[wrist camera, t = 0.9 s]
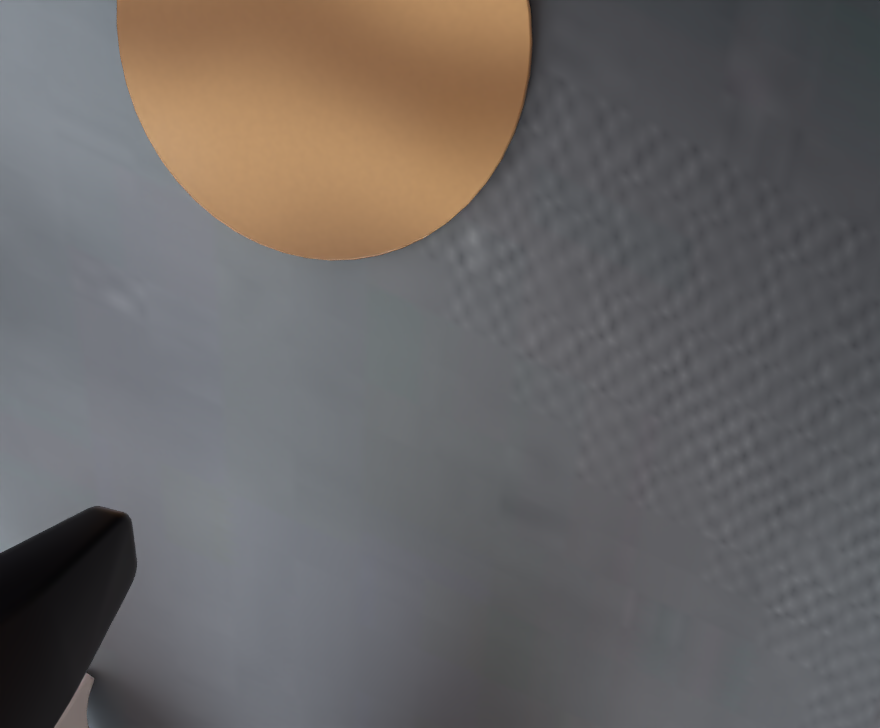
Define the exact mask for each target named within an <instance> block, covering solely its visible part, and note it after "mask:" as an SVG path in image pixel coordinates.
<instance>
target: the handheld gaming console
mask: <svg viewBox="0 0 880 728" xmlns="http://www.w3.org/2000/svg"><path fill="white" fill-rule="evenodd" d="M94 679H95V678H93V677H92V676H90V675H89V674H87V673H86V674H85V676H84V677H83V679H82V681H81V683H80V685H79V687H78V689H77V691H76V692H75V694H74V696H73V698H72V700H71V701H70V703H69V705H68V706H67V708H66V709H65V711H64V713H63V714H62V716H61V718H60V719H59V721H58V722H57V724H56V725H55V727H54V728H89V726H88V719H87V707H88V699H89V694H90V691H91V688H92V685H93V682H94Z"/></svg>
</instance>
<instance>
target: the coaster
mask: <svg viewBox="0 0 880 728" xmlns="http://www.w3.org/2000/svg"><path fill="white" fill-rule="evenodd" d="M117 32H118V41H119V50H120V57H121V62H122V66H123V71H124V76H125V80H126V84H127V87H128V90H129V93H130V96H131V99H132V102H133V105H134V108H135V111H136V113H137V115H138V117H139V120H140V122H141V124H142V126H143V128H144V131H145V133H146V135H147V137H148V138H149V140H150V142H151V144H152V145H153V147H154V149H155V150H156V152H157V154H158V155H159V157H160V159H161V160H162V162H163V163H164V164H165V166H166V167H167V168H168V170H169V171H170V172H171V174H172V175H173V176H174V178H175V179H176V180H177V182H178V183H179V184H180V185H181V186H182V187H183V188H184V189H185V190H186V191H187V192H188V193H189V195H190V196H191V197H192V198H193V199H194V200H195V201H196V202H197V203H199V204H200V205H201V206H202V207H203V208H204V209H206V210H207V211H208V212H209V213H210V214H211V215H213V216H214V217H215V218H216V219H218V220H219V221H221V222H222V223H224V224H225V225H227V226H228V227H230V228H231V229H233V230H234V231H235V232H237V233H239V234H241V235H243V236H245V237H247V238H249V239H251V240H253V241H255V242H257V243H259V244H261V245H264V246H266V247H269V248H272V249H275V250H277V251H280V252H283V253H287V254H291V255H296V256H300V257H304V258H311V259H322V260H356V259H361V258H367V257H373V256H379V255H382V254H385V253H389V252H392V251H395V250H398V249H401V248H404V247H406V246H408V245H410V244H412V243H414V242H416V241H418V240H420V239H423V238H425V237H427V236H428V235H430V234H431V233H433V232H434V231H436V230H437V229H439V228H440V227H442V226H443V225H445V224H446V223H448V222H449V221H450V220H451V219H452V218H453V217H454V216H455V215H457V214H458V213H459V212H460V211H461V210H462V209H463V208H465V207H466V206H467V205H468V204H469V203H470V201H471V200H472V199H473V198H474V197H475V196H476V195H477V193H478V192H479V191H480V190H481V189H482V188H483V186H484V185H485V184H486V183H487V182H488V180H489V179H490V177H491V175H492V174H493V172H494V171H495V169H496V168H497V166H498V165H499V163H500V162H501V160H502V159H503V156H504V154H505V152H506V150H507V148H508V146H509V144H510V142H511V140H512V138H513V136H514V134H515V131H516V128H517V125H518V122H519V119H520V116H521V113H522V110H523V107H524V103H525V98H526V93H527V88H528V83H529V78H530V71H531V57H532V22H531V9H530V3H529V0H117Z"/></svg>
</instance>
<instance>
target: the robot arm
mask: <svg viewBox="0 0 880 728" xmlns="http://www.w3.org/2000/svg"><path fill="white" fill-rule="evenodd" d="M136 568H137V558H136V550H135V542H134V535H133V527H132V521H131V519H130V517H129V516H128V514H126V513H124V512H120V511H117V510H113V509H109V508H105V507H101V506H94V507H91V508H88V509H86V510H84V511H82V512H80V513H78V514H76V515H74V516H72V517H70V518H68V519H66V520H64V521H62V522H60V523H59V524H57V525H55V526H53V527H51V528H49V529H47V530H45V531H43V532H41V533H39V534H37V535H35V536H33V537H31V538H29V539H27V540H25V541H23V542H21V543H20V544H18V545H16V546H14V547H12V548H10V549H8V550H6V551H4V552H2V553H0V728H54V727H55V725H56V724H57V722H58V721H59V719H60V718H61V716H62V714H63V713H64V711H65V709H66V708H67V706H68V705H69V703H70V701H71V700H72V698H73V696H74V694H75V692H76V691H77V689H78V687H79V685H80V683H81V681H82V679H83V677H84V676H85V674H86V672H87V670H88V668H89V666H90V664H91V662H92V660H93V658H94V656H95V654H96V652H97V650H98V648H99V646H100V645H101V643H102V641H103V639H104V637H105V635H106V633H107V631H108V629H109V627H110V625H111V623H112V621H113V619H114V617H115V615H116V614H117V612H118V610H119V608H120V606H121V604H122V602H123V600H124V598H125V596H126V594H127V592H128V590H129V588H130V586H131V584H132V582H133V580H134V577H135V573H136Z"/></svg>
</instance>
